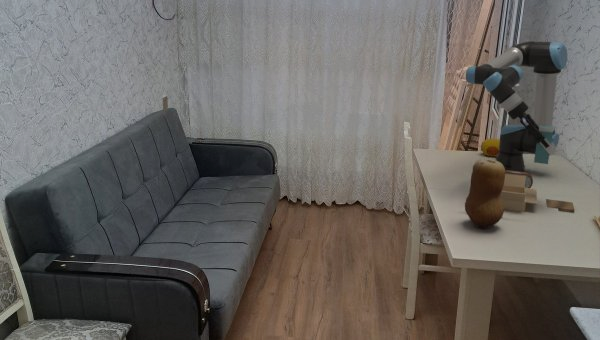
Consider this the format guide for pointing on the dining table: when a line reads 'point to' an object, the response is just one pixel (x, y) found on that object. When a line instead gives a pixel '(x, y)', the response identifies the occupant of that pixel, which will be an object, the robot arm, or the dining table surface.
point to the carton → (517, 193)
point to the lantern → (490, 147)
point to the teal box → (541, 153)
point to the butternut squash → (485, 193)
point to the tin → (528, 177)
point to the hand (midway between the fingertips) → (553, 151)
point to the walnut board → (561, 205)
